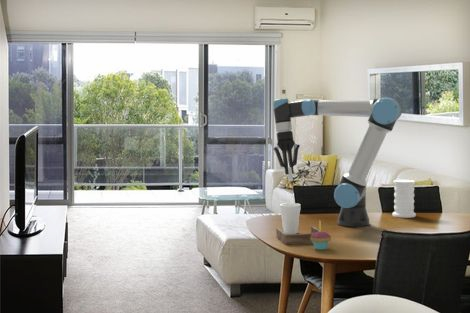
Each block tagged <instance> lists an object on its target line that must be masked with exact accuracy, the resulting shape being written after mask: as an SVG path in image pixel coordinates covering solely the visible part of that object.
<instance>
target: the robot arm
mask: <svg viewBox="0 0 470 313" xmlns="http://www.w3.org/2000/svg"><path fill="white" fill-rule="evenodd" d="M272 105H273V109H272V110H273V114H274V115H273V116H274V122H275V129H276V130H275V131H276V132H277V133H276V140H277V144H276V146H274V147H273V148H272V150H273V151H274V153H275V155H276V158H277V161H278V163H279V165H280V167H281V168H284V174H285V175H287V182H293V181H294V179H293V174H294V173H295V172H294V166H297V165H298V164H297V162H298V155H299V154H298V153H299V149H300V144H297V143H296V142H295V140H294V135H293V134H294V133H293V131H292V130H293V125H292V118H293V119H294V118H300V117H305V116H307V117H308V116H323V117H324V116H329V117H331V116H332V117H356V118H357V117H359V118H361V117H363V118H368V119H367V122H368V128H367V129H366V132H365V134H364V136H363V138H362V141H361V142H360V145H359V148H358V149H357V152H356V154H355V156H354V158H353V161H352V162H351V165H350V167H349V170H348V171H347V172H346V173H343V175H342V177H341V178H340V181H339V184H338V185H337V186H336V188H334V192H333V198H334V201H335V203H336V204H337V205H338V206H340V207H341V208H340V211H339V214H338V218H337V225H339V226H342V227H343V226H344V227H357V228H358V227H366V226H369V225H370V217H369V214H368V211H367V208H366V207H367V205H366V204H367V203H366V202H367V196H366V195H367V181H366V179H367V177H368V175H369V173H370V171H371V168H372V166H373V164H374V162H375V159H376V157H377V156H378V153H379V151H380V149H381V146H382V145H383V143H384V140H385V138H386V135H387V134H389V133H390V132H392V131H393V129H394V126H395V125H396V122H397V120H399V118H400V117H401V116H402V113H403V107H402V104H401V102H400V101H399V100H398V99H397V98H394V97H392V96H386V97H385V96H383V97H381V98H373V99H372V100H350V99H349V100H346V99H345V100H344V99H340V100H339V99H338V100H337V99H311V98H307V99H306V98H305V99H301V100H300V99H299V100H295V101H290V100H289V98H287V97H286V98H285V97H284V98H277V99H274V100H273V102H272ZM293 148H294V149H293ZM280 150H281V152H280ZM292 152H293V153H292ZM281 153H282V155H281ZM292 154H293V155H292Z"/></svg>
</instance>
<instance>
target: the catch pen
mask: <svg viewBox="0 0 470 313" xmlns="http://www.w3.org/2000/svg"><path fill="white" fill-rule="evenodd" d="M310 228H311V232H310V233H297V234H286V233H284V232H283V230H282V229H280V228H279V227H278V228H276V238H277V239H278V240H280V241H281V243H282V244H284V245H303V244H307V245H308V244H313V242H312V241H311V239H310V238H311V235H312V234H313V233H315V232H319V229H318V228H316V227H315V226H311V227H310Z"/></svg>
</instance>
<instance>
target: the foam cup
mask: <svg viewBox="0 0 470 313" xmlns="http://www.w3.org/2000/svg"><path fill="white" fill-rule="evenodd" d="M279 210H280V214H281V215H280V216H281V222H282V229H283V230H282V231H283V232H284V233H286V234H287V235H292V234H298V231H299V224H300V217H301V216H300V214H301V213H300V212H301V204H300V203H295V202H285V203H280V204H279Z"/></svg>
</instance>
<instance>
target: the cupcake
mask: <svg viewBox="0 0 470 313" xmlns="http://www.w3.org/2000/svg"><path fill="white" fill-rule="evenodd" d="M318 228H319V229H318V230H319V232H315V233H313V234H312V235H311V238H310V239H311V241H312V242H313V243H312V245H313V247H314V249H315V250H321V251H322V250H323V251H324V250H327V248H328V244H329V242H330V241H331V240H332V236H331V235H330V233H328V232H327V231H326V232H325V231H322V222H321V220H318Z"/></svg>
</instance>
